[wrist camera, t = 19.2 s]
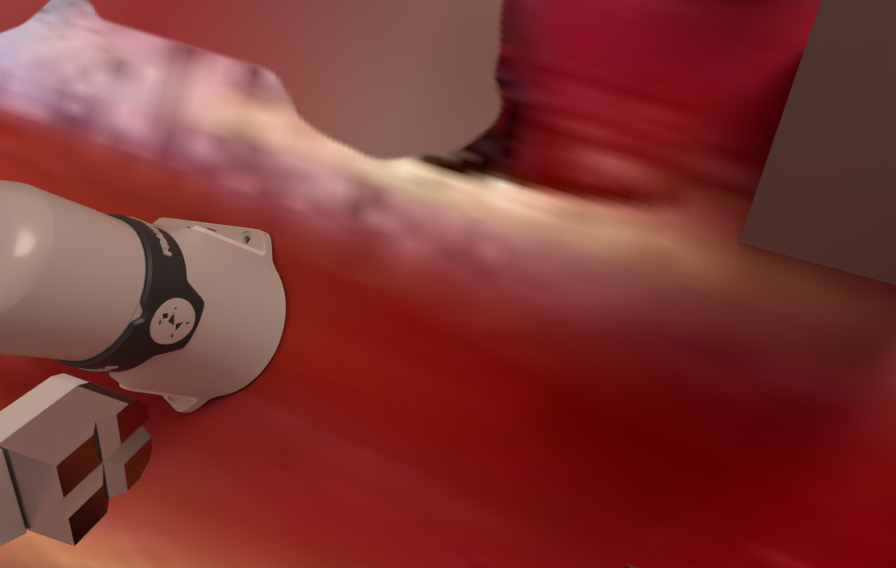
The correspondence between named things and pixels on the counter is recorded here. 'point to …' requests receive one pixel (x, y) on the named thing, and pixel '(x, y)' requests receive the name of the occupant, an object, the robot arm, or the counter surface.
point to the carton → (836, 148)
